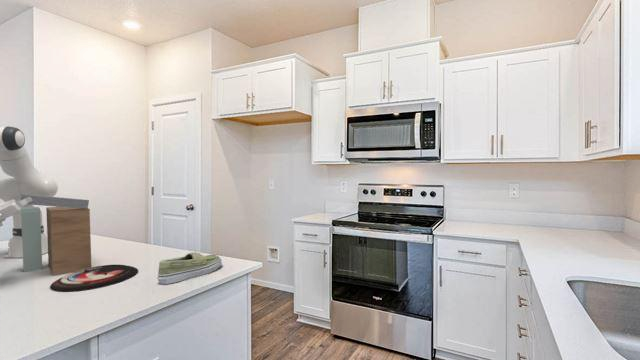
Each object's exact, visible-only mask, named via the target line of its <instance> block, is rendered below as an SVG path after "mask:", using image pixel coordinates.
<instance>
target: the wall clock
mask: <svg viewBox="0 0 640 360" xmlns="http://www.w3.org/2000/svg"><path fill="white" fill-rule="evenodd" d="M138 272H139V269H138V268H137V267H134V266H131V265H125V264H105V265H98V266H91V268H86V269H82V270H78V271H75V272H72V273H66V274H64V276H62V277H60V278H58V279H55V280H54V282H52V283H51V284H50V287H49V288H50V289H51V290H52V291H56V292H62V293H68V292H69V293H71V292H81V291H82V292H83V291H88V290H89V291H90V290H95V289H99V288H104V287H105V288H106V287H108V286H112V285H115V284H118V283H122V282H124V281H127V280H129V279H131V278H132V277H134V276H135V275H137V274H138Z"/></svg>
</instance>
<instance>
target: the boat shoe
mask: <svg viewBox="0 0 640 360" xmlns="http://www.w3.org/2000/svg"><path fill="white" fill-rule="evenodd" d="M222 261H223V260H222V258H221V257H220V256H219V255H217V254H209V255H203V254H202V253H200V252H198V251H197V252H195V251H193V252H189V253H186V255H184V256H180V257H174V258H167V259H163V260H159V263H158V264H159V265H158V274H157V281H158V284H161V285H171V284H175V283H178V282H182V281H185V280H189V279H192V278H197V277H200V276H201V277H202V276H204V275H208V274H211V273H214V272H215V271H216V270H218V269H220V267H221V266H222V263H223V262H222Z"/></svg>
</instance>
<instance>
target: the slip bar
mask: <svg viewBox="0 0 640 360" xmlns="http://www.w3.org/2000/svg"><path fill="white" fill-rule="evenodd" d="M27 197H31V198H32V201H31V202H29V203H27V204H28V205H33V206H43V207H44V206H46V207H70V208H83V209H88V208H89V203H90V200H88V199H81V198H70V197H59V196H57V197H56V196H53V197H49V196H37V195H26V194H21V197H20V201H21V200H23V199H25V198H27Z"/></svg>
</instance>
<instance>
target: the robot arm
mask: <svg viewBox="0 0 640 360" xmlns="http://www.w3.org/2000/svg"><path fill="white" fill-rule="evenodd" d="M25 142H26V138H25V134H24V132H23V131H22V130H20V129H19V128H17V127H14V126H3V125H2V126H0V167H1V170H2V172H3V173H4V174H6V175H7V176H10V178H2V179H0V200H2V201H3V202H1V203H0V227H3V225H4V224H3V222H4V221H7V218H9V217H11V216H12V221H13V228H12V231H11V234H12V237H11V238H10V239H9V240H8V244H7V245H8V249H7V250H8V252H7V253H6V254H5V255H3V258H4V259H10V258H14V259H16V258H19V259H20V258H22V259H23V248H22V224H21V208H30V207H35V205H28V204H27V203H29V202H31V201H32V198H31V197H27V198H25V199H23V200H21V201H20V197H21V194H26V195H37V196H49V197H55V196H56V194H57V193H58V190H59V187H58V184H57V182H56V181H55V179H52V178H50V177H48V176H46V175H45V174H43V173H42V172H40V171H39V170H38V169H37V167H35V166H34V164H33V162H32V160H31V158H30V155H29V154H28V152H27V149H26V146H25ZM40 220H41V245H42V255H44V254H48V239H47V234H45V228H44V227H45V225H43V212H42V210H41V209H40Z"/></svg>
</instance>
